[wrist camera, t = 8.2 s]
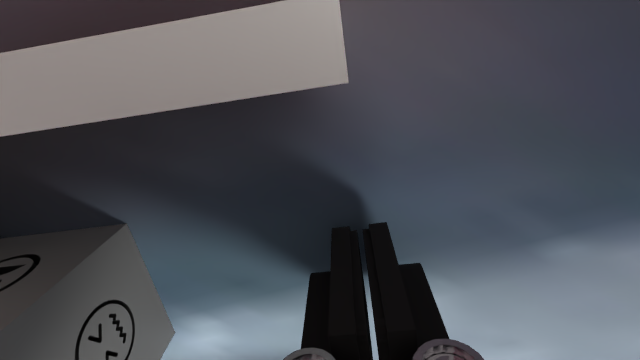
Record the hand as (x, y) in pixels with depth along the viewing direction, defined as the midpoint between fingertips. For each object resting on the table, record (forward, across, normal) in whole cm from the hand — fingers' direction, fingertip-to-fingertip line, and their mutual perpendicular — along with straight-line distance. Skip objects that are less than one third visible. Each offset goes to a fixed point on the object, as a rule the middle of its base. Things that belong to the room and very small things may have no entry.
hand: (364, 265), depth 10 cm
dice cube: (+1, +10, 0) cm, 10 cm away
